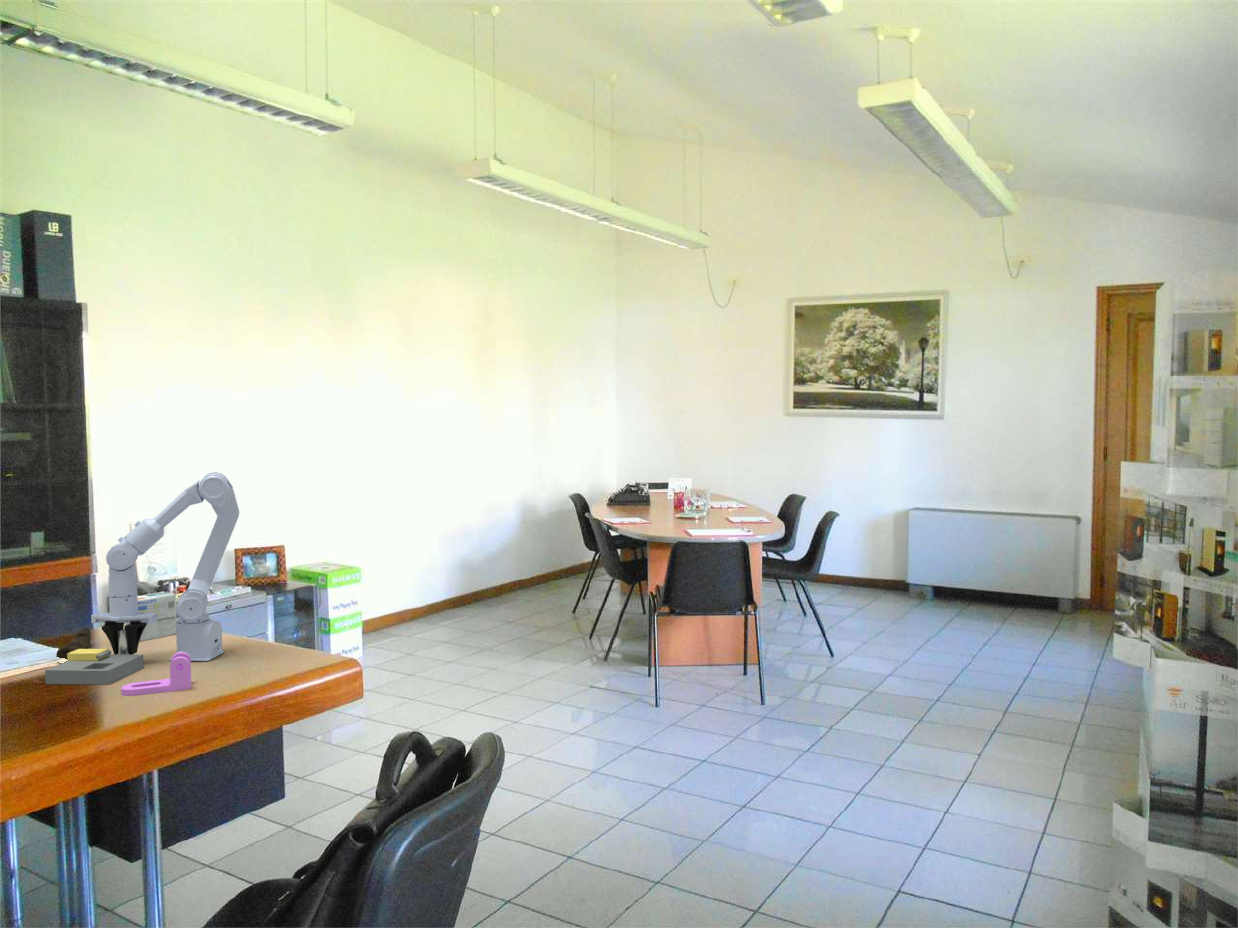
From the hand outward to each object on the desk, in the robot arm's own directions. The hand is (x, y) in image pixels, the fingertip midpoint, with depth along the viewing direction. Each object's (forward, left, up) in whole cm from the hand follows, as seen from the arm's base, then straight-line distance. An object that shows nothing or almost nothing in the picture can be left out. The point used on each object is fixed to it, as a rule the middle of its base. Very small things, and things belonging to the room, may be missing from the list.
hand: (125, 653), depth 210 cm
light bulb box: (+9, -26, -3) cm, 28 cm away
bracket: (-18, +19, -3) cm, 27 cm away
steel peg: (0, 0, -2) cm, 2 cm away
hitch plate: (+1, +9, -2) cm, 10 cm away
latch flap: (+4, +7, +1) cm, 8 cm away
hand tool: (+18, -9, -3) cm, 20 cm away
